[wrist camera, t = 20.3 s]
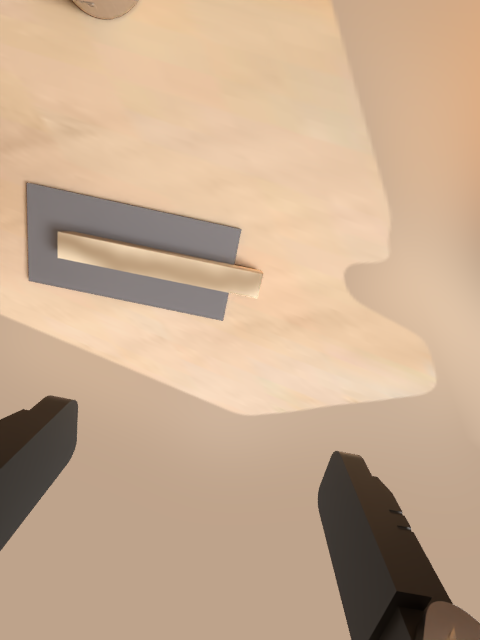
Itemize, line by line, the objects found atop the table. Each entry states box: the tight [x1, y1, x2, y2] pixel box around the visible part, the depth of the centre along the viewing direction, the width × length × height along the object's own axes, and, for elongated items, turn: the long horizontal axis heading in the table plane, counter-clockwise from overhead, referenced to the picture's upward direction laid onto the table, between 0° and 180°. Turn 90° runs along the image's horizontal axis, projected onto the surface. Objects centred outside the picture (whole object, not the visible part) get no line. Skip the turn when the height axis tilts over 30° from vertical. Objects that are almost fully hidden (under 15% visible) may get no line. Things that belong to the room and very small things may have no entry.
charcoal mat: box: [27, 183, 241, 321], centre depth 36 cm, size 12×26×1 cm, turn 78°
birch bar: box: [58, 231, 263, 299], centre depth 35 cm, size 3×24×3 cm, turn 78°
